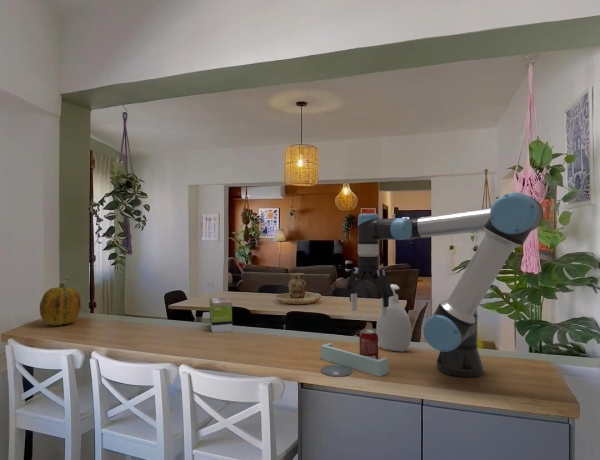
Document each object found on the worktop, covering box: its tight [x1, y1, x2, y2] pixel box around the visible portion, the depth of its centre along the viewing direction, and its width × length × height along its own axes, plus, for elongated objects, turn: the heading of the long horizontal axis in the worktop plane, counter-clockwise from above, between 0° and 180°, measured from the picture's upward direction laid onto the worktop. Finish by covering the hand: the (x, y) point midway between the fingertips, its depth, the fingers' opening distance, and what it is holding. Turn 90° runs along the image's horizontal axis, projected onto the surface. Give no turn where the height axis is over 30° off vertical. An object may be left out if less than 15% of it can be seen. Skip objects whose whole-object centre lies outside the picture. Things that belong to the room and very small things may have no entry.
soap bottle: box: [375, 283, 413, 353], centre depth 167 cm, size 14×8×27 cm, turn 62°
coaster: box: [320, 364, 353, 378], centre depth 141 cm, size 11×11×1 cm
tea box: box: [209, 296, 233, 334], centre depth 204 cm, size 15×10×15 cm
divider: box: [320, 342, 389, 378], centre depth 147 cm, size 27×5×5 cm, turn 43°
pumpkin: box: [39, 275, 82, 327], centre depth 214 cm, size 19×19×25 cm
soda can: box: [358, 329, 379, 360], centre depth 148 cm, size 7×7×12 cm
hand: (368, 313), depth 149 cm, fingers open, 13 cm apart
